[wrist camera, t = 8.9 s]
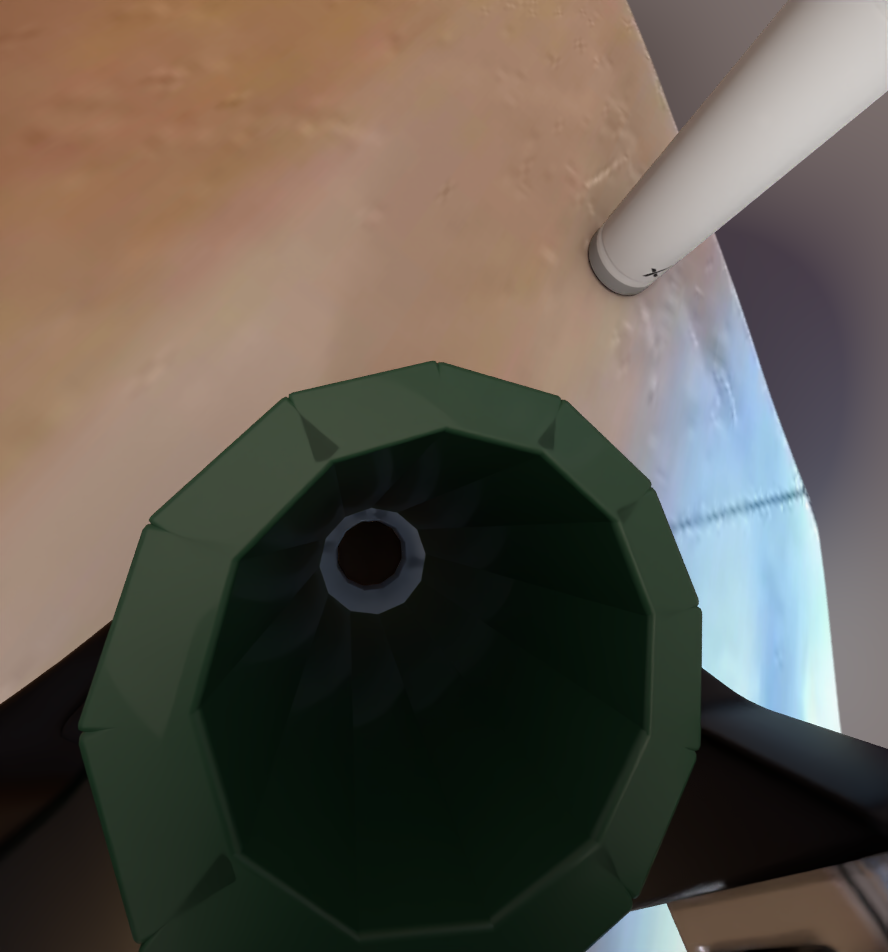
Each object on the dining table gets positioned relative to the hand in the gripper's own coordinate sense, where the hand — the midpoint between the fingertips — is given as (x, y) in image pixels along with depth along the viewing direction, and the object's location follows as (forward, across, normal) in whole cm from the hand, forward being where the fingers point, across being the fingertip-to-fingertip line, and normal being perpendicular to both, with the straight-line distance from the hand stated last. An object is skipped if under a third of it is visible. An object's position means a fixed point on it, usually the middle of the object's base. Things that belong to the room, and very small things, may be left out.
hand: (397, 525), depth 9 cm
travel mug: (+25, -19, -8) cm, 33 cm away
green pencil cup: (+4, 0, +6) cm, 7 cm away
